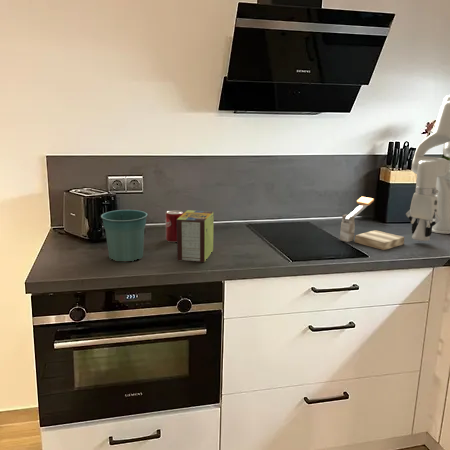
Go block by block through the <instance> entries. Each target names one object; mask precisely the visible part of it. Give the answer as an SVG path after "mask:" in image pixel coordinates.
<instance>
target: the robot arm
mask: <svg viewBox="0 0 450 450" xmlns="http://www.w3.org/2000/svg"><path fill="white" fill-rule="evenodd" d="M442 100H443V101H442V105H441V106H440V108H439V112H438V115H437V118H436V121H435V125H434V127H433V132H432V133H431V134H430V135H428V136H427V137H426V138H424V139H423V140H422V141H421V142H420V143H419V144H418V145H417V147H416V149H415V152H414V154H413V157H412V161H411V170H412V172H413V173H414V174H416V180H415V181H416V183H415V184H416V185H415V190H414V191H415V192H414V193H413V195H412V198H411V203H410V206H409V208H410V209H409V210H407V212H406V213H405V215H406V217H407V218H408V220H409V221H410V224H411V234H412V235H413V234H414V232H415V230H416V227H417V225H418V222H419V219H424V220H426V225H427V227H426V232H425V237H428V236H431V235H432V233H436V234H443V235H445V234H447V235H448V234H449V235H450V160H448V159H446V158H449V159H450V94H449V95H445V97H444V98H443V99H442ZM441 145H443V147H442V154H443V156H444V157H446V158H444V157H435V156H425V154H426V153H427V152H428V151H429V150H430V149H433V148H435V147H437V146H441Z"/></svg>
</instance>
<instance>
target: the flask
mask: <svg viewBox="0 0 450 450" xmlns="http://www.w3.org/2000/svg"><path fill="white" fill-rule="evenodd" d="M417 223H418V225H417V227H416V230H415V232H414V234H412V236H411V239H413V240H414V241H418V242H419V241H421V242H425V241H426V242H427V241H428V242H429V241H430V240H431V237H430V236H431V235H430V236H428V237H425V232H426V227H427V221H426V220H424V219H418V221H417Z"/></svg>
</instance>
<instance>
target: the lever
mask: <svg viewBox="0 0 450 450" xmlns="http://www.w3.org/2000/svg"><path fill="white" fill-rule="evenodd" d="M374 201H375V198H372V197H366V196H361V197H359V198H358V199H357V200H356V204H359V205H358V206H356V207H355V208H354V210H353V211H350V213H349V214H347V215H348V216H347V217H346V218H345V221H346V222H349V217H350V216H355V217H357V216H358V215H359V214H361V212H362V211H364V210H365V209H366V208H367V207H368V206H370V205H371V204H372V203H374Z"/></svg>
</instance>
